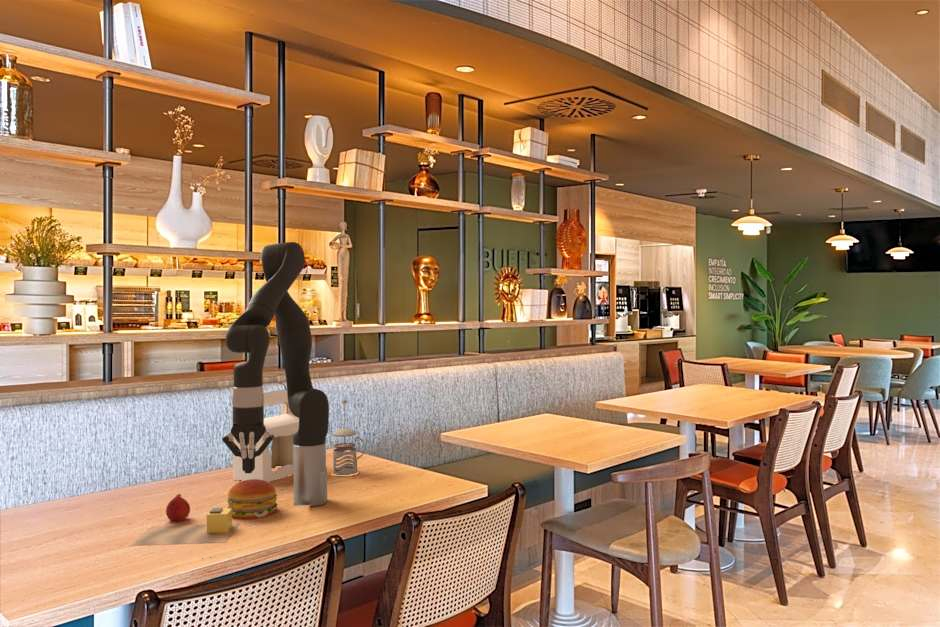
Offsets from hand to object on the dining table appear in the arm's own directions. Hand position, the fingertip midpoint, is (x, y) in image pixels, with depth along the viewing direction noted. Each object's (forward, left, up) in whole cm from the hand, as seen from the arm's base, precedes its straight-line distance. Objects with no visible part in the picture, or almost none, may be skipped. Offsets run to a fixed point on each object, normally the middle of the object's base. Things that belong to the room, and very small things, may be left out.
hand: (248, 472), depth 187 cm
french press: (-20, -61, -16) cm, 66 cm away
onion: (+20, -9, -16) cm, 27 cm away
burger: (+2, -14, -16) cm, 21 cm away
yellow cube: (+7, 0, -14) cm, 16 cm away
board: (+14, +5, -15) cm, 21 cm away
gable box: (+6, -62, -16) cm, 64 cm away
